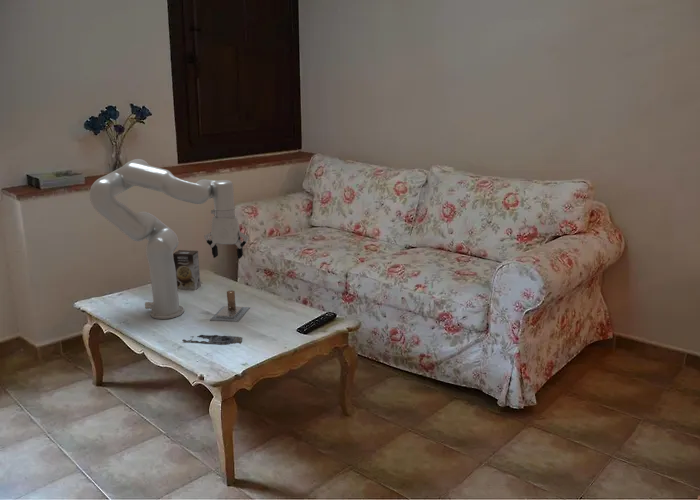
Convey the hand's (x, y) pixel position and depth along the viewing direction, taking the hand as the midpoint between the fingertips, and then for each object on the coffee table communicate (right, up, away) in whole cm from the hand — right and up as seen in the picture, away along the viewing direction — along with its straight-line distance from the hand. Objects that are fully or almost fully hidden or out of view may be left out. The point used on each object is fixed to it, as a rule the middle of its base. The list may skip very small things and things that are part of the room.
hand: (227, 257), depth 247 cm
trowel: (0, -22, +4) cm, 22 cm away
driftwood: (-1, -30, -19) cm, 35 cm away
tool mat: (0, -22, +4) cm, 22 cm away
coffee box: (-24, -14, +35) cm, 45 cm away
